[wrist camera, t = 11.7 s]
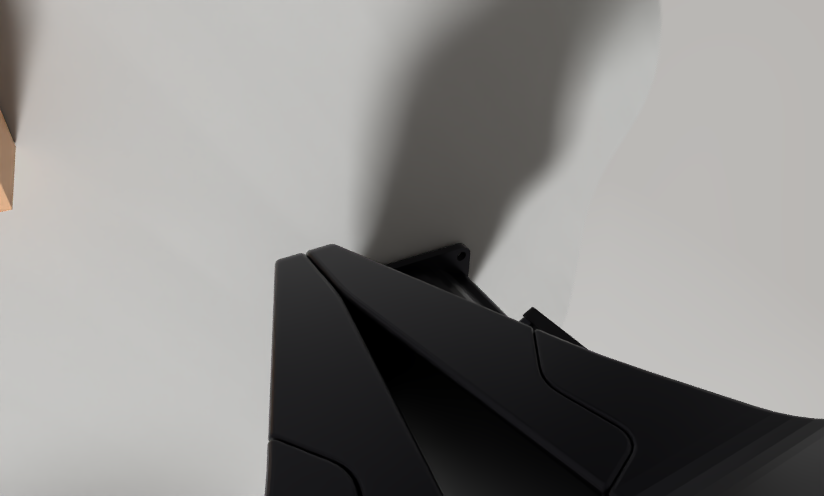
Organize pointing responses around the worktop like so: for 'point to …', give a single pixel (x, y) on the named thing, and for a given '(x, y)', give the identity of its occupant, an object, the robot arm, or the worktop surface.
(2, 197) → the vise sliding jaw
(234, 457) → the worktop surface
